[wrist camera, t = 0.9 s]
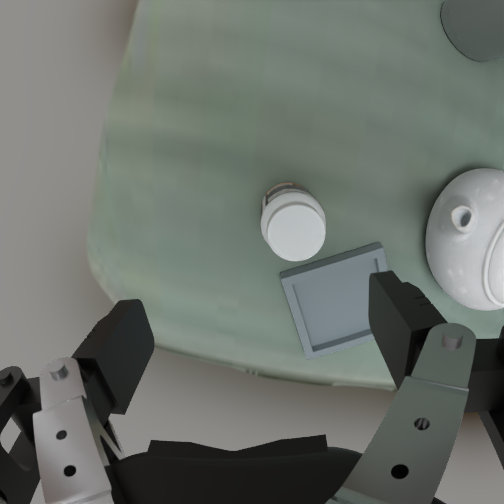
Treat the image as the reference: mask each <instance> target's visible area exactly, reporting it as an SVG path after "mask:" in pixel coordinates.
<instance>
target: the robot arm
mask: <svg viewBox="0 0 504 504" xmlns="http://www.w3.org/2000/svg"><path fill="white" fill-rule="evenodd" d="M441 19H442V24H443V27H444V30H445V32H446V34H447V36H448V37H449V39H450V40H451V42H452V43H453V44H454V46H455V47H456V48H457V49H458V50H459V51H460V52H461V53H462V54H464V55H465V56H467V57H468V58H470V59H472V60H475V61H488V60H492V59H497V58H503V57H504V0H446V1H445V2H444V4H443V6H442V9H441ZM368 318H369V325H370V329H371V332H372V334H373V336H374V338H375V340H376V342H377V345H378V347H379V349H380V351H381V353H382V355H383V358H384V360H385V362H386V364H387V367H388V369H389V371H390V373H391V376H392V378H393V380H394V382H395V385H396V387H397V389H398V392H397V394H396V396H395V398H394V400H393V402H392V404H391V406H390V408H389V410H388V412H387V413H386V416H385V417H384V419H383V421H382V423H381V424H380V426H379V428H378V430H377V431H376V433H375V435H374V437H373V438H372V440H371V442H370V443H369V445H368V447H367V448H366V450H365V452H364V453H363V454H362V453H359V452H356V451H352V450H348V449H343V448H338V447H327V441H326V435H318V436H310V437H302V438H292V439H282V440H278V441H274V442H270V443H266V444H263V445H259V446H255V447H251V448H247V449H242V450H238V451H228V450H223V449H218V448H213V447H208V446H204V445H200V444H196V443H192V442H174V441H158V440H151V442H150V445H149V448H148V451H147V452H143V453H139V454H134V455H131V456H128V457H126V456H125V453H124V451H123V449H122V447H121V444H120V442H119V440H118V437H117V435H116V433H115V430H114V428H113V425H112V423H111V421H110V420H109V415H110V414H111V413H112V414H123V415H125V413H126V410H127V408H128V406H129V404H130V401H131V399H132V397H133V395H134V392H135V390H136V388H137V385H138V384H139V381H140V379H141V377H142V375H143V372H144V370H145V368H146V366H147V364H148V362H149V359H150V357H151V355H152V353H153V351H154V337H153V333H152V330H151V327H150V325H149V322H148V319H147V316H146V313H145V309H144V306H143V304H142V302H141V301H140V300H139V299H132V300H120V301H118V303H117V304H116V305H115V306H114V308H113V309H112V310H111V311H110V313H109V314H108V315H107V316H105V317H104V318H103V319H101V320H100V321H98V323H97V324H96V325H95V326H94V328H93V329H92V331H91V332H90V333H89V334H88V336H87V338H85V339H84V341H83V342H82V343H81V345H80V346H79V348H78V349H77V350H76V351H75V353H74V354H73V356H72V357H71V358H69V357H65V358H60V359H57V360H55V361H52V362H51V363H49V364H48V365H47V366H45V367H44V368H43V370H42V371H41V373H40V377H36V378H29V379H26V377H25V375H24V373H23V372H22V370H21V368H19V367H16V366H12V367H7V368H5V369H3V370H2V371H0V434H1V432H2V430H3V428H4V427H5V425H6V424H7V422H8V420H9V419H10V417H11V418H12V419H13V421H14V422H15V423H16V425H17V426H18V427H19V429H20V430H21V433H20V434H19V436H18V438H17V440H16V441H15V443H14V445H13V447H12V449H11V451H10V452H9V454H8V453H7V452H6V451H5V450H4V448H3V447H2V445H1V442H0V504H30V502H31V500H32V497H33V495H34V492H35V489H36V488H37V485H38V483H39V481H40V479H41V484H42V489H43V493H44V498H45V503H46V504H446V503H444V502H442V501H441V500H439V499H437V498H435V497H434V496H435V493H436V491H437V489H438V486H439V484H440V481H441V479H442V476H443V474H444V471H445V469H446V466H447V463H448V461H449V457H450V455H451V452H452V449H453V446H454V443H455V440H456V437H457V434H458V430H459V427H460V424H461V420H462V416H463V413H466V412H478V414H479V416H480V418H481V420H482V422H483V424H484V426H485V428H486V430H487V432H488V434H489V437H490V439H491V441H492V443H493V446H494V448H495V450H496V452H497V455H498V457H499V459H500V461H501V464H502V466H503V469H504V326H503V327H502V330H501V333H500V336H499V338H496V339H476V336H475V334H474V333H473V332H472V331H471V330H470V329H469V328H467V327H465V326H463V325H461V324H457V323H448V322H447V321H446V320H445V319H444V317H443V316H442V315H441V314H440V313H439V311H438V310H437V309H436V308H435V307H434V305H433V304H431V302H430V301H429V299H428V298H427V297H425V295H424V294H423V292H422V291H421V290H420V289H419V288H418V287H416V286H414V285H412V284H410V283H408V282H404V283H402V282H401V281H400V280H399V278H398V277H397V276H396V275H395V273H394V272H393V271H391V270H390V271H383V272H376V273H371V274H370V276H369V306H368Z"/></svg>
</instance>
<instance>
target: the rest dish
mask: <svg viewBox="0 0 504 504" xmlns="http://www.w3.org/2000/svg"><path fill="white" fill-rule="evenodd" d="M383 271H388V270H387V264H386V258H385V252H384V247H383V246H382V245H381V244H380V243H379V242H377V243H374V244H371V245H368V246H365V247H361V248H358V249H355V250H352V251H349V252H346V253H342V254H339V255H336V256H333V257H330V258H326V259H323V260H320V261H317V262H313V263H310V264H307V265H304V266H300V267H297V268H294V269H290V270H287V271H284V272H281V273H280V277H281V282H282V285H283V288H284V291H285V294H286V297H287V300H288V303H289V306H290V309H291V312H292V315H293V318H294V321H295V324H296V327H297V330H298V333H299V336H300V339H301V343H302V346H303V349H304V352H305V355H306V358H307V360H309V359H312V358H316V357H320V356H323V355H326V354H330V353H333V352H337V351H340V350H343V349H346V348H349V347H353V346H356V345H359V344H362V343H365V342H368V341H371V340H374V339H375V338H374V336H373V334H372V332H371V329H370V325H369V318H368V306H369V276H370V274H371V273H376V272H383Z"/></svg>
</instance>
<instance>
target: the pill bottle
mask: <svg viewBox="0 0 504 504" xmlns="http://www.w3.org/2000/svg"><path fill="white" fill-rule="evenodd" d="M260 226H261V232H262V235H263V237H264V239H265V241H266V242H267V243H268V244H269V245H270V247H271V249H272V250H273V251H274V252H275V253H276V254H277V255H278V256H280V257H281V258H283V259H285V260H289V261H303V260H306V259H308V258H310V257H312V256H314V255H315V254H316V253H317V252H318V251H319V250H320V248H321V247H322V245H323V243H324V240H325V235H326V229H325V227H326V219H325V214H324V210H323V208H322V207H321V205H320V204H319V203H318V202H317V200H316V199H315V198H314V197H313V196H312V195H311V194H310V193H309V192H308V190H306V189H305V188H304V187H302V186H301V185H298V184H295V183H281V184H278V185H276V186H274V187H272V188H271V189H270V190H269V191H268V192H267V193H266V195H265V196H264V198H263V201H262V204H261V221H260Z"/></svg>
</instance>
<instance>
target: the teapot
mask: <svg viewBox="0 0 504 504" xmlns="http://www.w3.org/2000/svg"><path fill="white" fill-rule="evenodd" d="M425 244H426V255H427V260H428V264H429V267H430V270H431V272H432V274H433V276H434V278H435V279H436V281H437V283H438V284H439V285H440V287H441V288H442V289H443V290H444V291H445V292H446V293H447V294H448V295H449V296H450V297H451V298H452V299H454V300H455V301H457V302H458V303H460V304H462V305H464V306H466V307H469V308H472V309H477V310H496V309H501V308H504V172H503V171H500V170H497V169H490V168H480V169H474V170H470V171H467V172H465V173H463V174H461V175H459V176H457V177H456V178H455V179H453V180H452V181H451V182H450V183H449V184H448V185H447V186H446V187H445V189H444V190H443V191H442V192H441V194H440V195H439V197H438V198H437V200H436V202H435V204H434V206H433V208H432V211H431V213H430V216H429V219H428V224H427V230H426V243H425Z"/></svg>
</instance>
